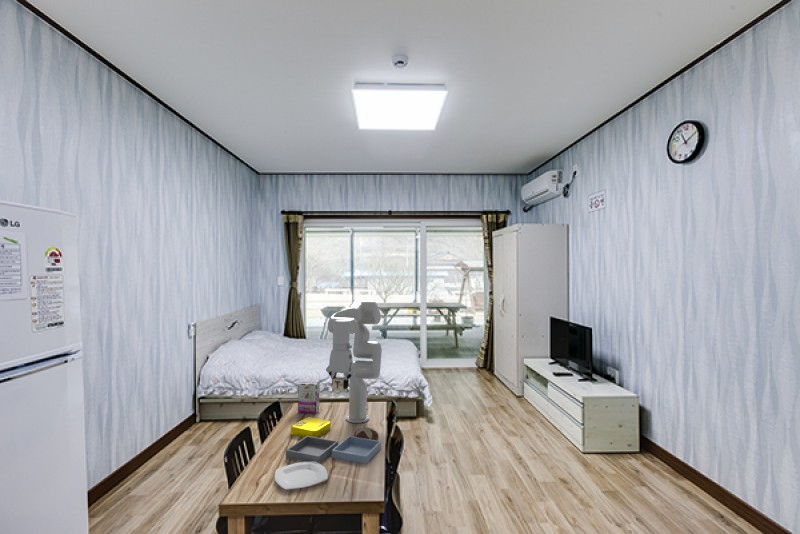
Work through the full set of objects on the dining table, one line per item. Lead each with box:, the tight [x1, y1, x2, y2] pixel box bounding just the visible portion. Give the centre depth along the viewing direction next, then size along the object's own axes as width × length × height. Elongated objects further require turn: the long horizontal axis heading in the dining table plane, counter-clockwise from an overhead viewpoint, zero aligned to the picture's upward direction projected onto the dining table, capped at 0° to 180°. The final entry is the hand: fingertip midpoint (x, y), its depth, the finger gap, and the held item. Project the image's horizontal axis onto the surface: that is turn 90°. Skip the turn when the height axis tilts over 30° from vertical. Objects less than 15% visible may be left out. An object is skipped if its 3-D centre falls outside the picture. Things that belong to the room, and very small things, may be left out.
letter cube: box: [331, 376, 349, 393], centre depth 174 cm, size 5×5×5 cm
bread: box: [353, 426, 379, 441], centre depth 184 cm, size 11×11×5 cm
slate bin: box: [331, 435, 382, 465], centre depth 168 cm, size 16×16×4 cm
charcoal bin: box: [285, 436, 339, 464], centre depth 168 cm, size 16×16×4 cm
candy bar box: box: [297, 381, 320, 415], centre depth 221 cm, size 11×5×16 cm, turn 80°
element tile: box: [290, 416, 331, 439], centre depth 192 cm, size 15×15×5 cm
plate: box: [274, 461, 329, 491], centre depth 147 cm, size 19×19×2 cm
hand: (340, 387), depth 174 cm, fingers closed on letter cube, 4 cm apart
